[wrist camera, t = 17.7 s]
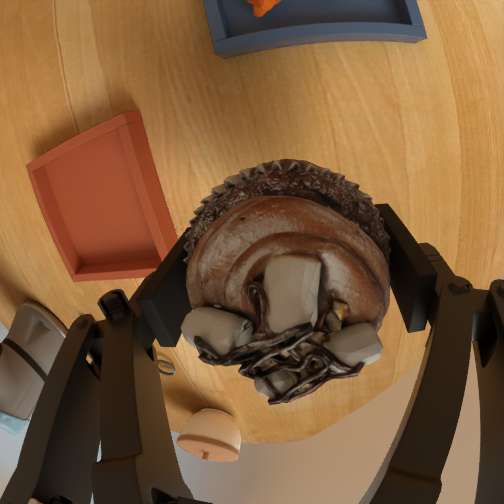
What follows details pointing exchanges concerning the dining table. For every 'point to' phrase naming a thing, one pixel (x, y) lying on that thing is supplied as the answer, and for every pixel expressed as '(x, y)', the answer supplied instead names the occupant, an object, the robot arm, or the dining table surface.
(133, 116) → the terracotta tray
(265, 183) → the cupcake
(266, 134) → the dining table surface
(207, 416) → the trinket box
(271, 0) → the orange toy bird
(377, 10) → the blue tray
